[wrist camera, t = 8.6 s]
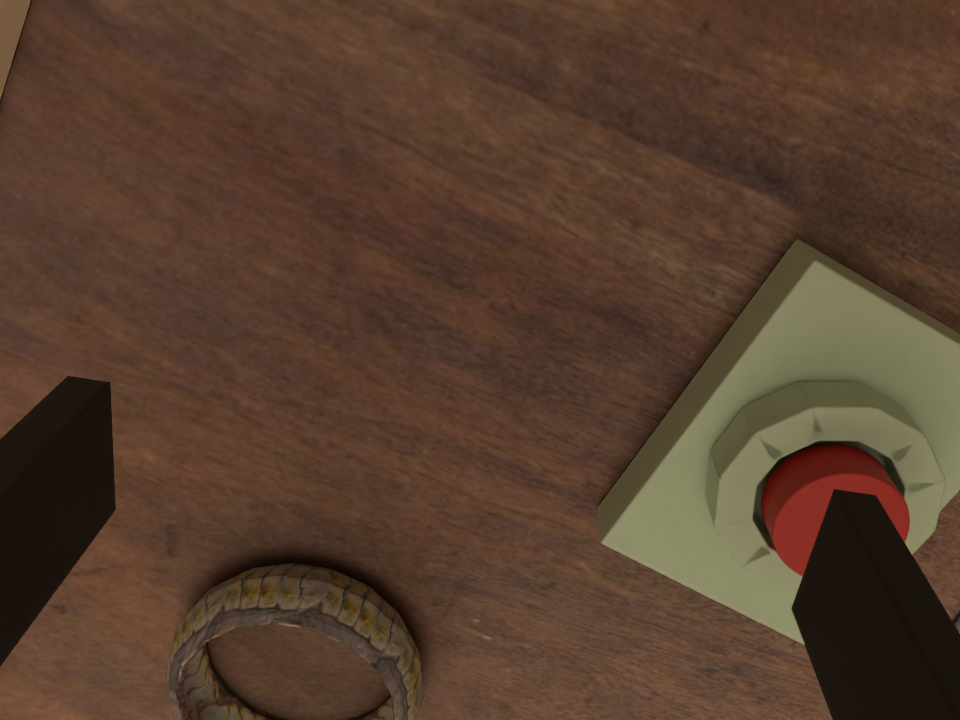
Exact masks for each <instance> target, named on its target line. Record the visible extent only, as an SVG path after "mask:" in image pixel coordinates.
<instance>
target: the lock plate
mask: <svg viewBox="0 0 960 720" xmlns="http://www.w3.org/2000/svg"><path fill="white" fill-rule="evenodd" d="M30 2H31V0H0V99H1V96H2V93H3V89H4V86H5V83H6V80H7V76H8V73H9V70H10V67H11V63H12V60H13V57H14V54H15V50H16V47H17V44H18V41H19V37H20V34H21V31H22V28H23V24H24V21H25V18H26V15H27V11H28V8H29V5H30Z"/></svg>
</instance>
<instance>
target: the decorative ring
mask: <svg viewBox="0 0 960 720" xmlns="http://www.w3.org/2000/svg"><path fill="white" fill-rule="evenodd" d="M266 624H278V625H284V626H291V627H297V628H303V629H310V630H314V631H316V632H318V633H321V634H323V635H325V636H327V637H330V638H332V639H334V640H336V641H338V642H341V643H343V644H345V645H347V646H349V647H351V648H352V649H353V650H354V651H355V652H356V653H358V654H359V655H360V656H361V657H362V658H363V659H365V660H366V661H367V662H368V663H369V664H370V665H371V666H373V667H374V668H375V669H376V670H377V671H378V673H379V674H380V676H381V678H382V680H383V682H384V683H385V685H386V687H387V689H388V690H389V692H390V694H391V697H390V698H389V699H388V700H387V701H386V702H385V703H384V704H383V705H382V706H381V707H380V708H379V709H377V710H376V711H374V712H371V713H369V714H367V715H364V716H362V717H360V718H357V719H355V720H415V718H416V715H417V713H418V711H419V708H420V706H421V703H422V701H423V687H422V673H421V662H420V654H419V650H418V648H417V647H416V645H415V643H414V641H413V639H412V637H411V635H410V633H409V632H408V630H407V628H406V626H405V624H404V622H403V620H402V619H401V617H400V615H399V614H398V612H397V611H396V610H395V609H394V608H393V607H392V606H391V605H390V604H388V603H387V602H386V601H385V600H384V599H383V598H382V597H381V596H379V595H378V594H377V593H376V592H375V591H374V590H373V589H372V588H371V587H369V586H368V585H366V584H364V583H361V582H359V581H357V580H355V579H353V578H351V577H348V576H346V575H344V574H342V573H340V572H338V571H335V570H333V569H329V568H322V567H316V566H310V565H303V564H297V563H287V564H279V565H272V566H264V567H257V568H252V569H250V570H248V571H245V572H243V573H241V574H239V575H237V576H235V577H233V578H231V579H229V580H227V581H225V582H223V583H221V584H219V585H217V586H215V587H213V588H211V589H209V590H208V592H207V593H206V594H205V595H204V596H203V597H202V598H201V599H200V600H199V601H198V602H197V604H196V605H195V606H194V607H193V608H192V609H191V611H190V612H189V613H188V614H187V615H186V617H185V618H184V619H183V620H182V621H181V622H180V624H179V625H178V626H177V627H176V632H175V636H174V640H173V644H172V648H171V652H170V656H169V661H168V666H167V671H166V678H167V683H168V689H169V693H170V698H171V702H172V707H173V711H174V715H175V720H280V719H277V718H275V717H273V716H270V715H268V714H266V713H263V712H261V711H259V710H256V709H254V708H252V707H250V706H249V705H248V704H247V703H245V702H244V701H243V700H242V699H240V698H239V697H238V696H237V695H235V694H234V693H233V692H232V691H230V690H229V689H228V688H227V687H226V686H225V685H224V683H223V682H222V680H221V679H220V677H219V676H218V674H217V673H216V671H215V669H214V668H213V666H212V665H211V663H210V662H209V657H208V652H207V647H206V642H207V641H209V640H211V639H213V638H215V637H218V636H220V635H222V634H224V633H226V632H228V631H230V630H232V629H234V628H242V627H250V626H258V625H266Z"/></svg>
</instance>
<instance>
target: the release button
mask: <svg viewBox="0 0 960 720" xmlns="http://www.w3.org/2000/svg"><path fill="white" fill-rule="evenodd" d="M834 489H837V490H844V491H851V492H858V493H864V494H871V495H876V496H877V498H878V499H879V501H880V503H881V504H882V506H883V508H884V509H885V511H886V513H887V514H888V516H889V518H890V519H891V521H892V523H893V524H894V526H895V528H896V529H897V531H898V532H899V534H900V536H901V537H902V539H903V541H904V542H905V541H906V539H907V535H908V532H909V526H910V515H909V510H908V506H907V504H906V501H905V500H904V498H903V496H902V495H901V493H900V492H899V490H898V489H897V487H896V486H895V484H894V482H893V481H892V479H891V478H890V476H889V475H888V473H887V472H886V470H885V469H884V467H883V466H882V465H881V463H880V462H879V461H878V460H877V459H875V458H874V457H873V456H872V455H870V454H869V453H867V452H865V451H863V450H861V449H858V448H855V447H852V446H847V445H841V444H825V445H818V446H814V447H810V448H807V449H804V450H802V451H799V452H797V453H795V454H794V455H792V456H790V457H789V458H787V459H786V460H784V461H783V462H782V463H781V464H780V465H779V466H778V467H777V468H776V469H775V470H774V471H773V472H772V474H771V475H770V477H769V478H768V480H767V482H766V484H765V486H764V489H763V492H762V497H761V511H762V515H763V519H764V521H765V524H766V526H767V529H768V532H769V534H770V537H771V539H772V542H773V544H774V547H775V549H776V552H777V554H778V556H779V557H780V559H781V560H782V561H783V562H784V563H785V564H786V566H787V567H789V568H790V569H791V570H792V571H794V572H796V573H797V574H799V575H801V576H803V574H804V572H805V569H806V566H807V563H808V560H809V558H810V555H811V552H812V549H813V546H814V544H815V541H816V538H817V535H818V532H819V530H820V527H821V524H822V521H823V518H824V516H825V513H826V510H827V507H828V504H829V502H830V499H831V496H832V493H833V490H834Z"/></svg>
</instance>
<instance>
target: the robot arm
mask: <svg viewBox="0 0 960 720" xmlns="http://www.w3.org/2000/svg"><path fill="white" fill-rule="evenodd" d="M115 510H116V508H115V485H114V461H113V437H112V413H111V389H110V382H104V381H98V380H91V379H84V378H77V377H70V376H67V377H66V378H65V379H64V380H63V381H62V382H61V383H60V384H59V385H58V386H57V387H56V388H55V389H54V390H52V391H51V392H50V393H49V394H48V395H47V396H46V397H45V398H44V399H43V400H42V401H41V402H40V403H39V404H38V405H37V406H35V407H34V408H33V409H32V410H31V411H30V412H29V413H28V414H27V415H26V416H25V417H24V418H23V419H22V420H21V421H19V422H18V423H17V424H16V425H15V426H14V427H13V428H12V429H11V430H10V431H9V432H8V433H7V434H6V435H5V436H3V437H2V438H1V439H0V666H1V665H2V663H3V662H4V661H5V659H6V658H7V657H8V655H9V654H10V652H11V651H12V650H13V648H14V647H15V646H16V644H17V643H18V642H19V640H20V639H21V637H22V636H23V635H24V633H25V632H26V631H27V629H28V628H29V627H30V625H31V624H32V623H33V621H34V620H35V618H36V617H37V616H38V614H39V613H40V612H41V610H42V609H43V608H44V606H45V605H46V603H47V602H48V601H49V599H50V598H51V597H52V595H53V594H54V593H55V591H56V590H57V589H58V587H59V586H60V584H61V583H62V582H63V580H64V579H65V578H66V576H67V575H68V574H69V572H70V571H71V569H72V568H73V567H74V565H75V564H76V563H77V561H78V560H79V559H80V557H81V556H82V555H83V553H84V552H85V550H86V549H87V548H88V546H89V545H90V544H91V542H92V541H93V540H94V538H95V537H96V535H97V534H98V533H99V531H100V530H101V529H102V527H103V526H104V525H105V523H106V522H107V520H108V519H109V518H110V516H111V515H112V514H113V512H114V511H115ZM791 609H792V612H793V615H794V617H795V620H796V623H797V625H798V628H799V631H800V633H801V636H802V639H803V641H804V644H805V647H806V649H807V652H808V655H809V657H810V660H811V663H812V665H813V668H814V671H815V673H816V676H817V679H818V681H819V684H820V687H821V689H822V692H823V695H824V697H825V700H826V703H827V705H828V708H829V711H830V713H831V716H832V719H833V720H960V634H959V632H958V630H957V629H956V627H955V625H954V624H953V622H952V620H951V619H950V617H949V615H948V614H947V612H946V611H945V609H944V607H943V606H942V604H941V602H940V601H939V599H938V597H937V596H936V594H935V592H934V591H933V589H932V587H931V586H930V584H929V582H928V581H927V579H926V577H925V576H924V574H923V572H922V571H921V569H920V567H919V566H918V564H917V562H916V561H915V559H914V557H913V556H912V554H911V552H910V551H909V549H908V547H907V546H906V544H905V542H904V541H903V539H902V537H901V536H900V534H899V532H898V531H897V529H896V528H895V526H894V524H893V523H892V521H891V519H890V518H889V516H888V514H887V513H886V511H885V509H884V508H883V506H882V504H881V503H880V501H879V499H878V498H877V496H876V495H871V494H864V493H858V492H851V491H844V490H837V489H834V490H833V493H832V496H831V499H830V502H829V504H828V507H827V510H826V513H825V516H824V518H823V521H822V524H821V527H820V530H819V532H818V535H817V538H816V541H815V544H814V546H813V549H812V552H811V555H810V558H809V560H808V563H807V566H806V569H805V572H804V574H803V577H802V580H801V583H800V586H799V588H798V591H797V594H796V597H795V600H794V602H793V605H792V608H791Z"/></svg>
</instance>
